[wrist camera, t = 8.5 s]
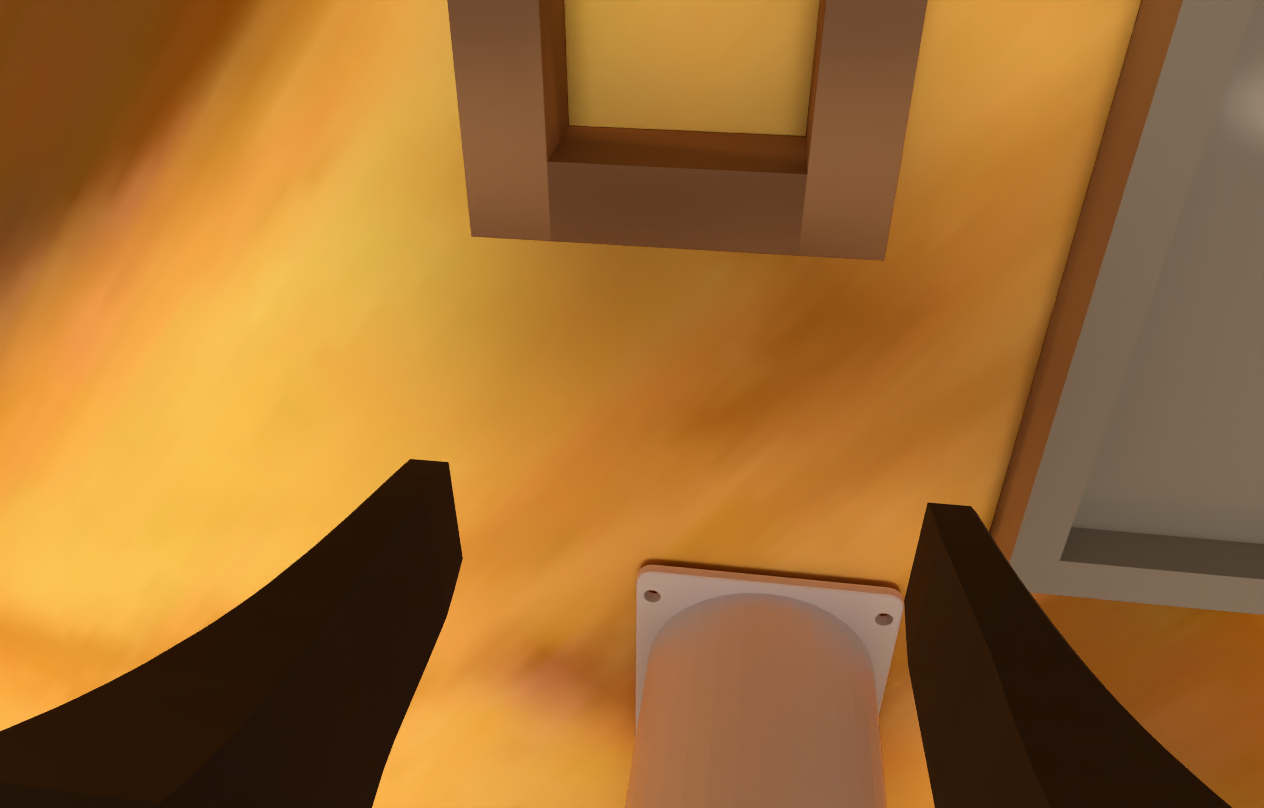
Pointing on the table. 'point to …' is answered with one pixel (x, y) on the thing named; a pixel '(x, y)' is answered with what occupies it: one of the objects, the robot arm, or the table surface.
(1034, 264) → the table surface
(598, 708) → the table surface
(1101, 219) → the tray
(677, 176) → the socket block
